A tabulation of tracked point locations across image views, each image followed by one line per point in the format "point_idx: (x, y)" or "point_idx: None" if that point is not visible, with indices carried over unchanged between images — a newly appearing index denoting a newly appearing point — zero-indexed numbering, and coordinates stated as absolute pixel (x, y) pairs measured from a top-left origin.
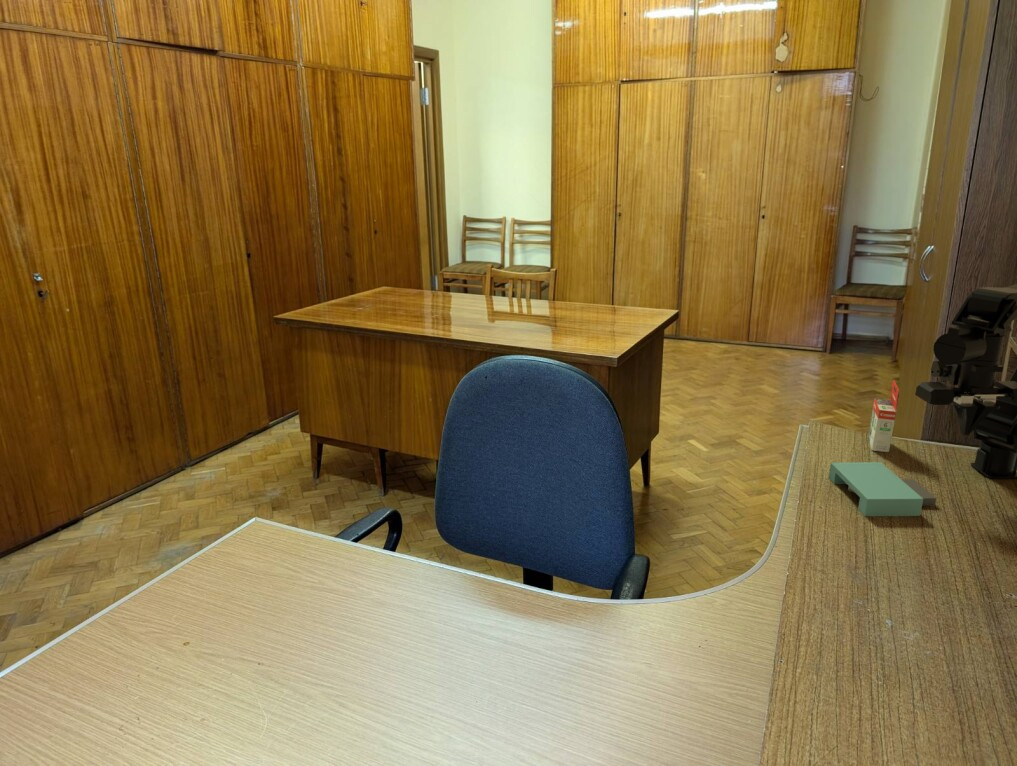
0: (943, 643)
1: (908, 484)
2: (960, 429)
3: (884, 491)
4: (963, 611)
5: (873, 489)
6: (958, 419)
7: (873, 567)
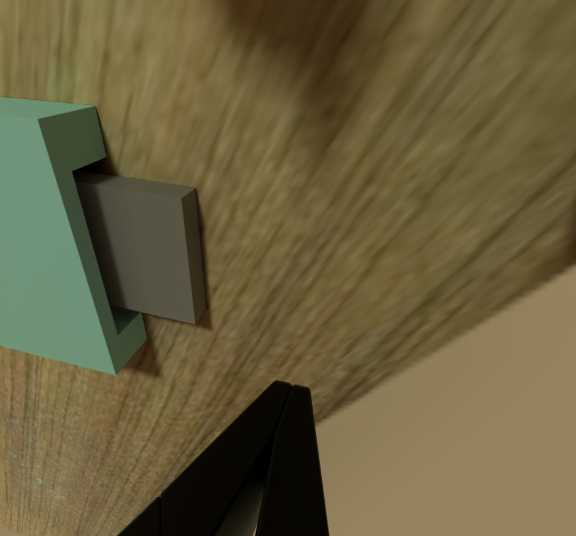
0: (84, 510)
1: (147, 235)
2: (255, 403)
3: (29, 323)
4: (119, 498)
5: (2, 308)
6: (180, 482)
7: (33, 422)
